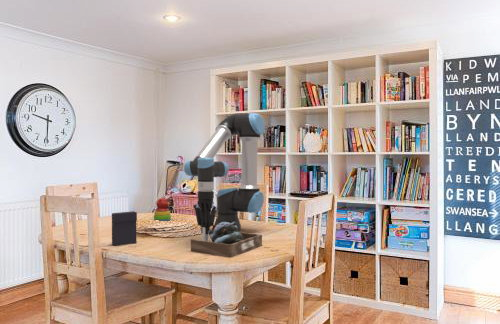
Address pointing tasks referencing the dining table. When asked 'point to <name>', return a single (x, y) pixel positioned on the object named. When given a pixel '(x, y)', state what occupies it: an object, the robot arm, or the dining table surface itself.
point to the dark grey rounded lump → (225, 233)
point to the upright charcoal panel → (124, 228)
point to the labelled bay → (227, 246)
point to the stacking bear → (162, 210)
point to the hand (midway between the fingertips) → (205, 240)
